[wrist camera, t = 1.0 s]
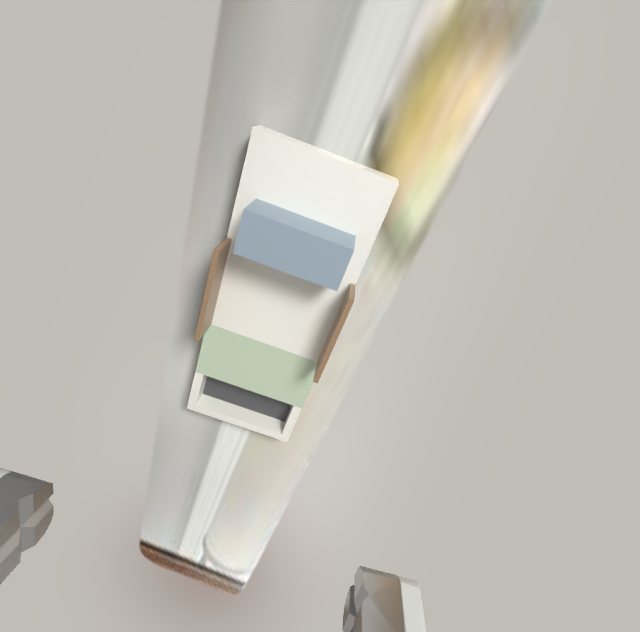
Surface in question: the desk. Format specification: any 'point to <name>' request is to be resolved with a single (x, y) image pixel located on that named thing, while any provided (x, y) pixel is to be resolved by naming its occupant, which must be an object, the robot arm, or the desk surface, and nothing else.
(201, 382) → the tunnel deck
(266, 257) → the slate bar
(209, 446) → the desk surface
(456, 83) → the desk surface
